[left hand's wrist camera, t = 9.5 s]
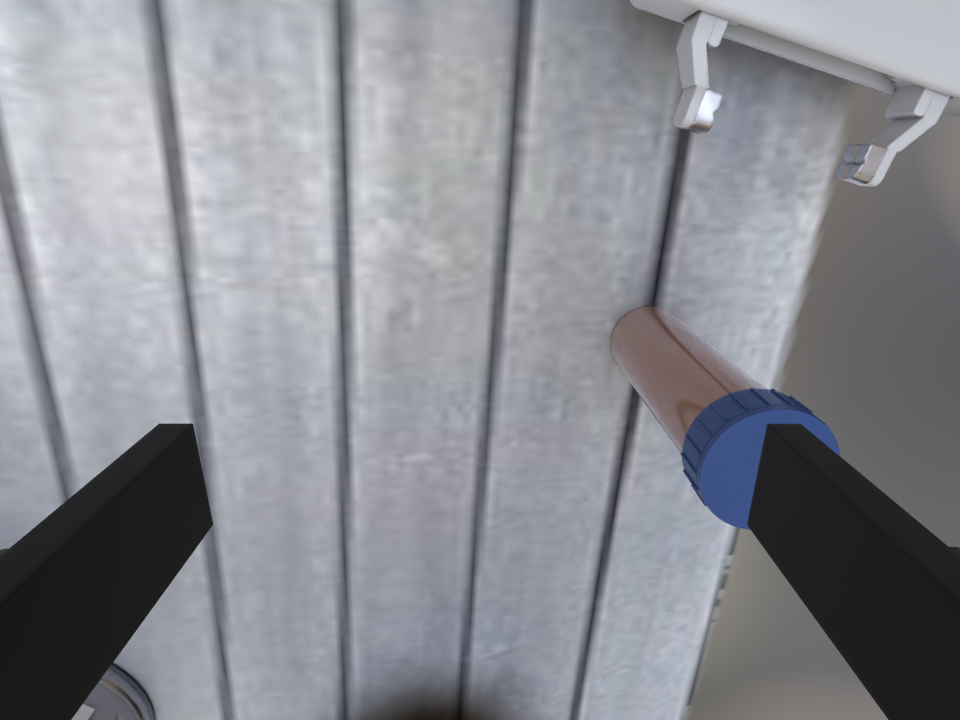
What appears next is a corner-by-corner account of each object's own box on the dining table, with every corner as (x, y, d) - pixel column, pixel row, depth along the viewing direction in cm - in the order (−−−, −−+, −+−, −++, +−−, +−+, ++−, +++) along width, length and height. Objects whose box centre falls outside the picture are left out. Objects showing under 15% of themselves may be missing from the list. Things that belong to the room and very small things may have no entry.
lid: (688, 513, 26) (706, 543, 24) (672, 403, 24) (690, 426, 22) (814, 486, 25) (843, 515, 23) (807, 372, 23) (839, 393, 21)
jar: (616, 381, 40) (710, 528, 24) (604, 315, 38) (696, 427, 22) (685, 364, 39) (828, 503, 24) (676, 298, 38) (823, 399, 22)
